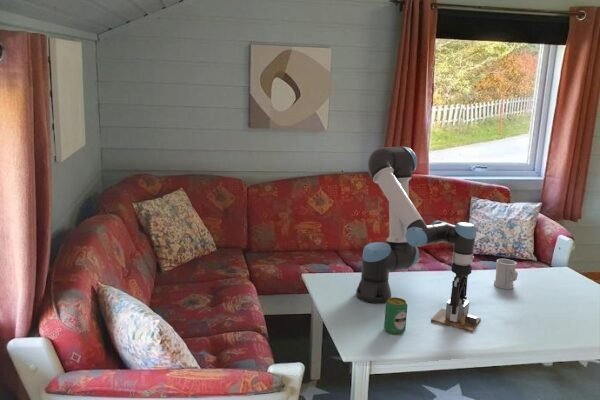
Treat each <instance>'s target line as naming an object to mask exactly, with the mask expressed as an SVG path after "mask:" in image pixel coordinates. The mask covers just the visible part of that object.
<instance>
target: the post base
mask: <svg viewBox="0 0 600 400" xmlns="http://www.w3.org/2000/svg"><path fill="white" fill-rule="evenodd" d="M458 304H462V300H461V299H459V303H458ZM445 315H446V308H445V309H444V308H440V309H439V310H438V311H437V313H436V314H435V315H434V316H433V317H432V318H431V319H430V322H432V323H435V324H439V325H442V326H446V327H451V328H453V329H458V330H461V331H465V332H469V333H473V331H475V329H476V328H477V326H478V325H479V324H480V322H481V321H482V318H481V317H478V319H477V323H476V324H473V323H469V322H465V317H466V316H465V315H461V322H460V323H458V322H453V321H450V320H446V319H445Z"/></svg>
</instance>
